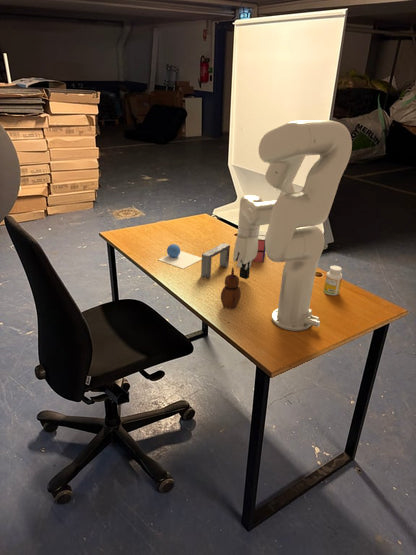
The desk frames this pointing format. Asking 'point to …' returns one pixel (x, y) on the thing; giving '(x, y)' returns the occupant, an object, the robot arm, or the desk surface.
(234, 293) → the wooden figurine
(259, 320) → the desk surface
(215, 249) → the bridge
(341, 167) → the robot arm
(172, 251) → the ball
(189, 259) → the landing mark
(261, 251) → the puzzle cube
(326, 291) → the supplement bottle
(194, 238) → the desk surface
